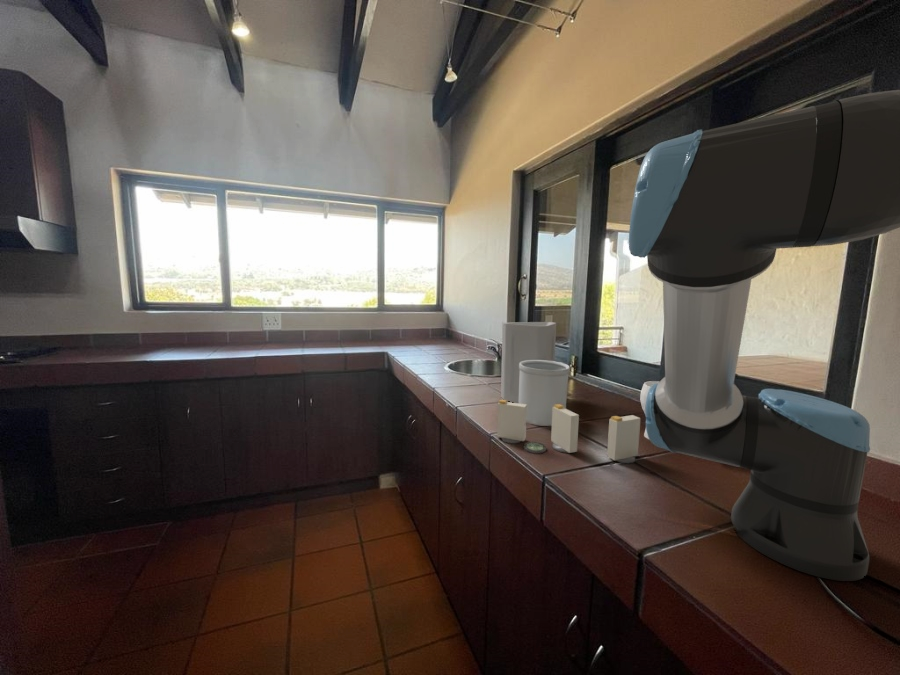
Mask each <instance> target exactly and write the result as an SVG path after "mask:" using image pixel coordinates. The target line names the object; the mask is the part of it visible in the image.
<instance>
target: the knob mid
mask: <svg viewBox="0 0 900 675" xmlns="http://www.w3.org/2000/svg"><path fill="white" fill-rule="evenodd" d="M563 407H564V406H563V405H560V404H556V405H554V407H552V426H551V432H550V433H551V435H550V436H551V437H550V438H551V439H550V441H551V442H552V449H553V450H554V451H557V452H558V453H564V454H565V453H566V454H570V453H575V452H578V438H579V436H578V435H579V424H580V423H579V421H580V420H579V419H580V418H579V417H580V415H579V414H578V413H575V412H573V411H572V410H570V409H568V408H566V409H565V408H563Z"/></svg>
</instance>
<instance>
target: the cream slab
mask: <svg viewBox="0 0 900 675" xmlns="http://www.w3.org/2000/svg"><path fill="white" fill-rule="evenodd" d="M526 414H527V404H519V403H512V402H508V401H507V400H503V399H502V398H501V399H500V400H498V403H497V427H496V428H497V433H496V434H497V435H496V436H497V437H498V438H501V441H502V442H505V443H507V444H518V443H521V442H525V440H526V438H527V422H526Z"/></svg>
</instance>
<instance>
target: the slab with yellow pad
mask: <svg viewBox="0 0 900 675" xmlns="http://www.w3.org/2000/svg"><path fill="white" fill-rule="evenodd" d="M608 421H609V423H608V436H607V450H606V452H607V453H606V457H607V458H610V460H613V462H614V461H615V462H617V463H618V462H619V463H622V464H632V463H635V462H636V457H637V456H639V444H640V433H641V432H640V430H641V417H639V416H636V415H634V414H631V415H625V416H618V415H613V416H611V417H610V418H609V420H608Z"/></svg>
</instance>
